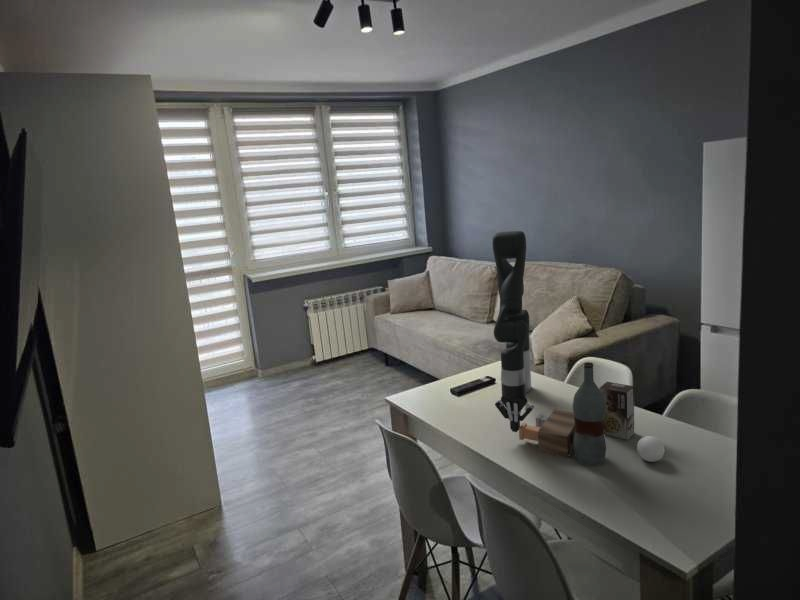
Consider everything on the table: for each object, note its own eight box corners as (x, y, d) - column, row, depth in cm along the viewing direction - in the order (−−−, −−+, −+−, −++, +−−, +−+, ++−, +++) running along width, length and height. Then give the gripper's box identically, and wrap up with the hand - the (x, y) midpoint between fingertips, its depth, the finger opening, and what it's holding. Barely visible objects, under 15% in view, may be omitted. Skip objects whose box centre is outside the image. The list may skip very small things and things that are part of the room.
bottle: (592, 470, 153) (590, 371, 147) (567, 458, 161) (564, 364, 155) (613, 459, 158) (612, 363, 152) (587, 448, 166) (586, 356, 160)
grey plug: (540, 424, 181) (539, 413, 180) (579, 430, 174) (579, 419, 173) (536, 429, 178) (535, 418, 177) (576, 436, 170) (576, 424, 170)
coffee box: (635, 432, 173) (635, 385, 170) (627, 440, 169) (627, 392, 165) (607, 426, 179) (606, 380, 176) (599, 433, 175) (598, 387, 172)
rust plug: (523, 434, 175) (523, 422, 174) (564, 441, 168) (563, 429, 167) (519, 439, 172) (518, 427, 171) (560, 447, 164) (560, 435, 164)
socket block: (555, 428, 181) (554, 409, 179) (582, 432, 176) (582, 413, 175) (538, 452, 166) (537, 431, 165) (567, 457, 161) (567, 436, 160)
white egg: (670, 464, 153) (670, 440, 152) (646, 468, 152) (646, 444, 151) (649, 448, 163) (649, 426, 161) (626, 452, 162) (626, 429, 160)
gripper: (537, 379, 170) (538, 429, 173) (498, 374, 177) (500, 423, 180) (529, 387, 164) (531, 439, 167) (489, 382, 171) (491, 432, 174)
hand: (515, 430), depth 174 cm, fingers closed
